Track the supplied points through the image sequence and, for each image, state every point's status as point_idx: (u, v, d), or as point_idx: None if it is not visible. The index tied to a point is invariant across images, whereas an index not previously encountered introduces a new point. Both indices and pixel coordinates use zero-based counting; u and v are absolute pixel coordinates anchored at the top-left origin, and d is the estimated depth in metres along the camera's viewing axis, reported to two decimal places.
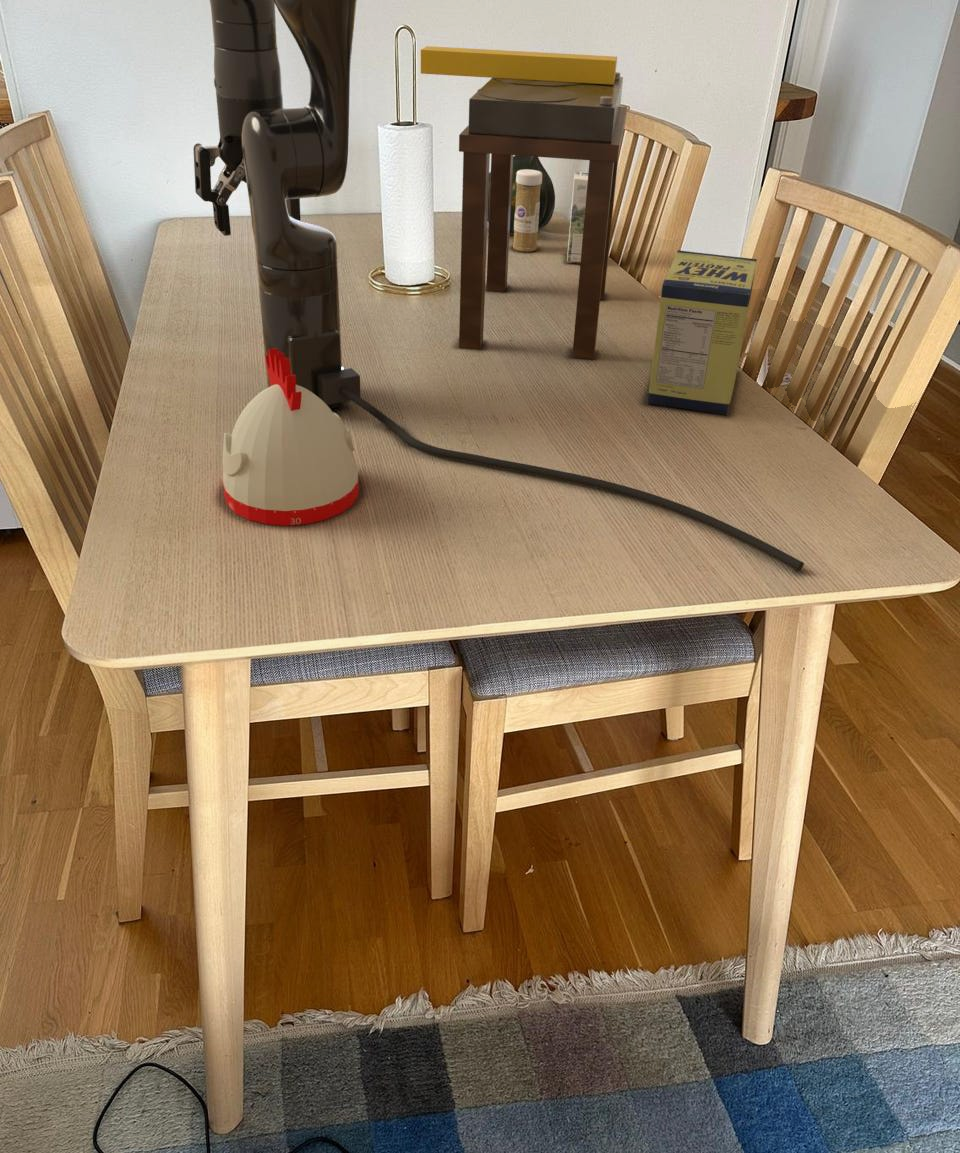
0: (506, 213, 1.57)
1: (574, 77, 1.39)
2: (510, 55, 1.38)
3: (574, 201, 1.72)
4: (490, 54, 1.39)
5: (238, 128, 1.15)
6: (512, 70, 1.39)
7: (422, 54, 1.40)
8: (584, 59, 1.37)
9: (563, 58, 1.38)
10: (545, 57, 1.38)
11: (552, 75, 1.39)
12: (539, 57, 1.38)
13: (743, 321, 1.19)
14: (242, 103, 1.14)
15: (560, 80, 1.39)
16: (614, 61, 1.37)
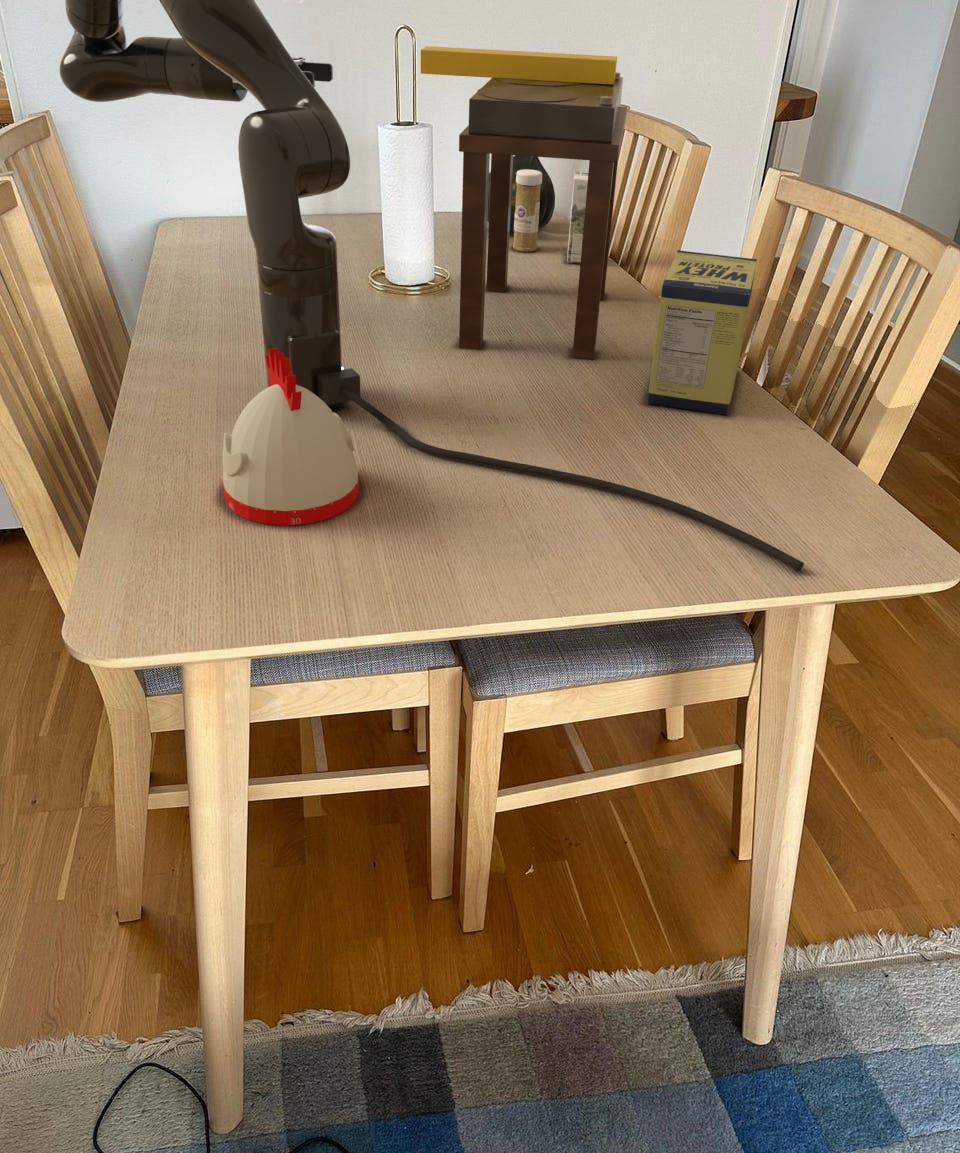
0: (506, 213, 1.57)
1: (574, 77, 1.39)
2: (510, 55, 1.38)
3: (574, 201, 1.72)
4: (490, 54, 1.39)
5: None
6: (512, 70, 1.39)
7: (422, 54, 1.40)
8: (584, 59, 1.37)
9: (563, 58, 1.38)
10: (545, 57, 1.38)
11: (552, 75, 1.39)
12: (539, 57, 1.38)
13: (743, 321, 1.19)
14: None
15: (560, 80, 1.39)
16: (614, 61, 1.37)
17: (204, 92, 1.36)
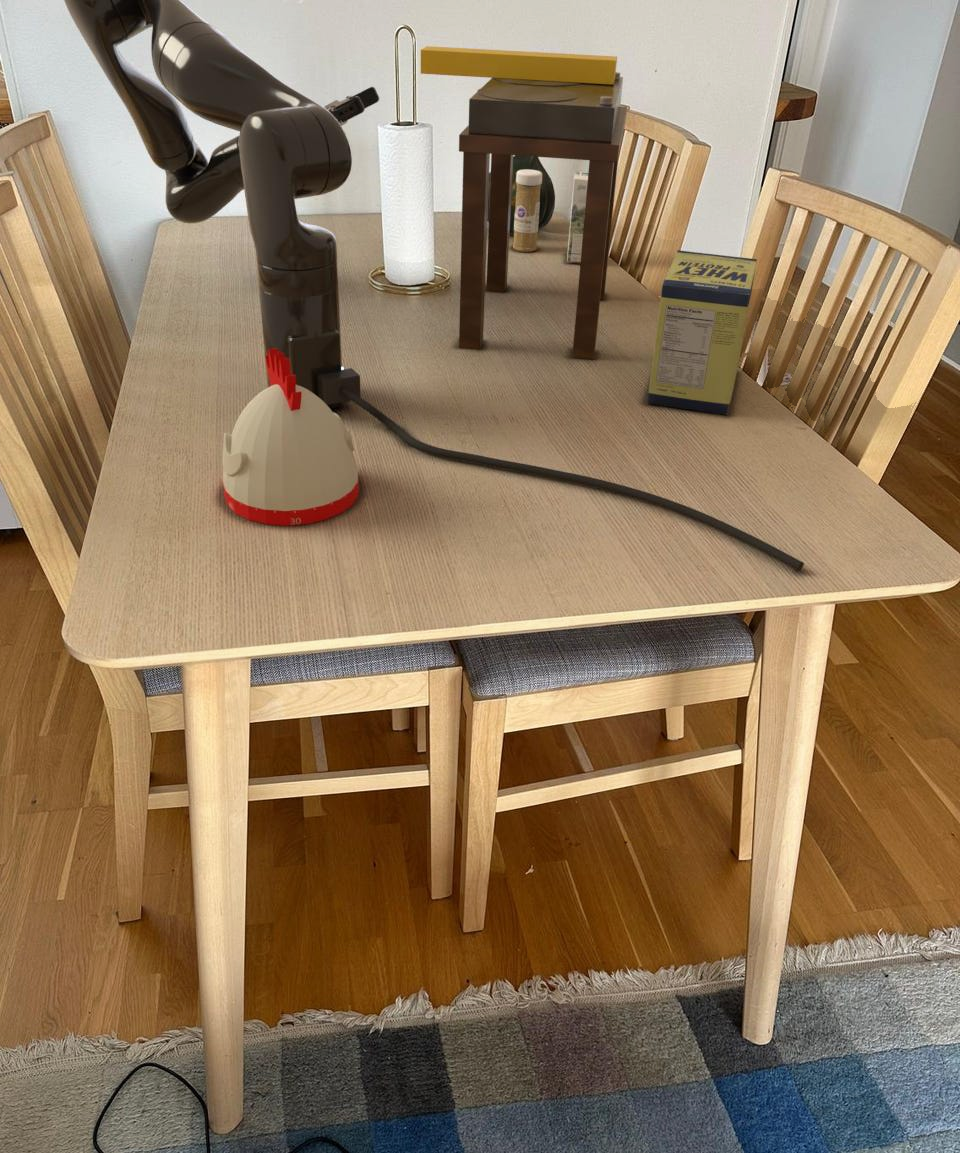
0: (506, 213, 1.57)
1: (574, 77, 1.39)
2: (510, 55, 1.38)
3: (574, 201, 1.72)
4: (490, 54, 1.39)
5: None
6: (512, 70, 1.39)
7: (422, 54, 1.40)
8: (584, 59, 1.37)
9: (563, 58, 1.38)
10: (545, 57, 1.38)
11: (552, 75, 1.39)
12: (539, 57, 1.38)
13: (743, 321, 1.19)
14: None
15: (560, 80, 1.39)
16: (614, 61, 1.37)
17: None
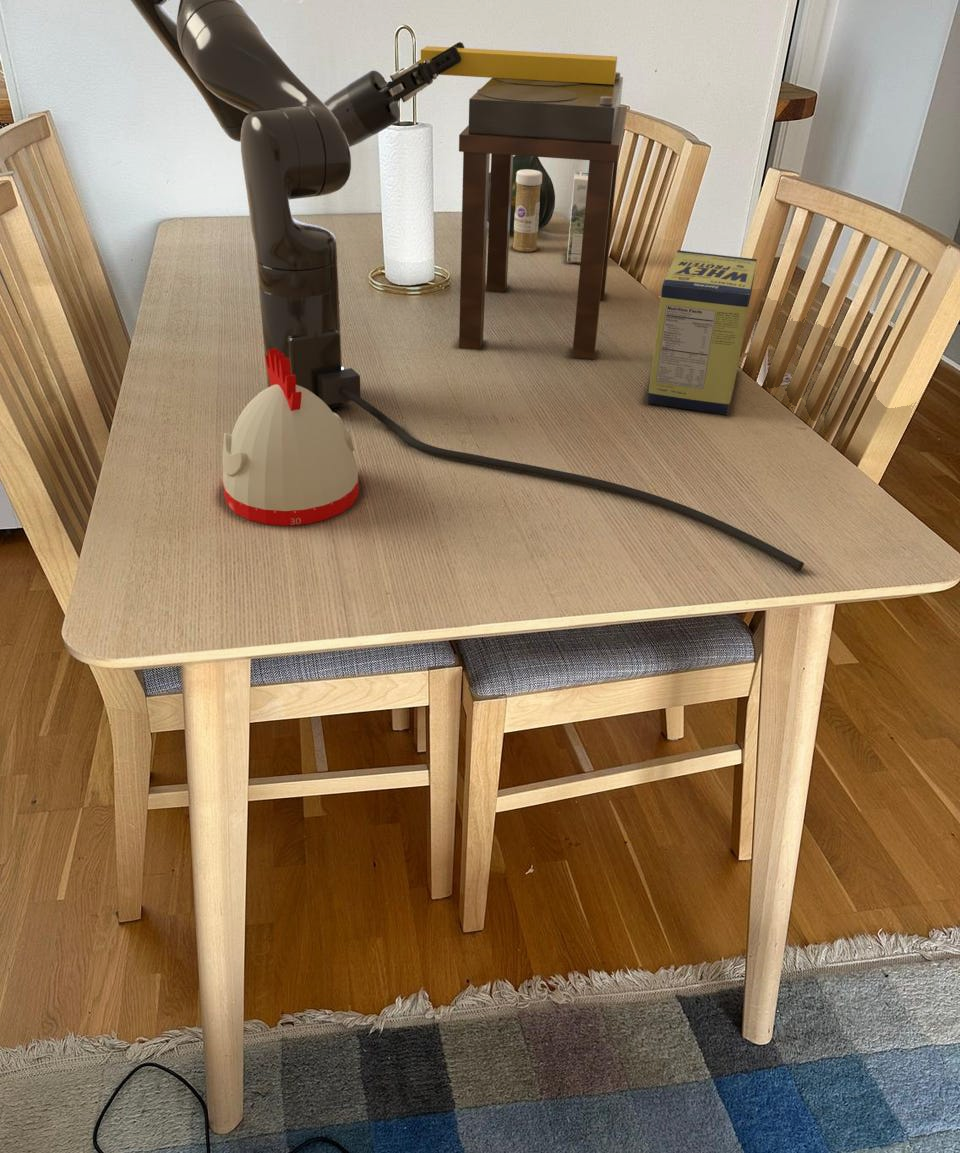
0: (506, 213, 1.57)
1: (574, 77, 1.39)
2: (510, 55, 1.38)
3: (574, 201, 1.72)
4: (490, 54, 1.39)
5: (366, 82, 1.43)
6: (512, 70, 1.39)
7: (422, 54, 1.40)
8: (584, 59, 1.37)
9: (563, 58, 1.38)
10: (545, 57, 1.38)
11: (552, 75, 1.39)
12: (539, 57, 1.38)
13: (743, 321, 1.19)
14: (349, 88, 1.44)
15: (560, 80, 1.39)
16: (614, 61, 1.37)
17: (366, 129, 1.46)
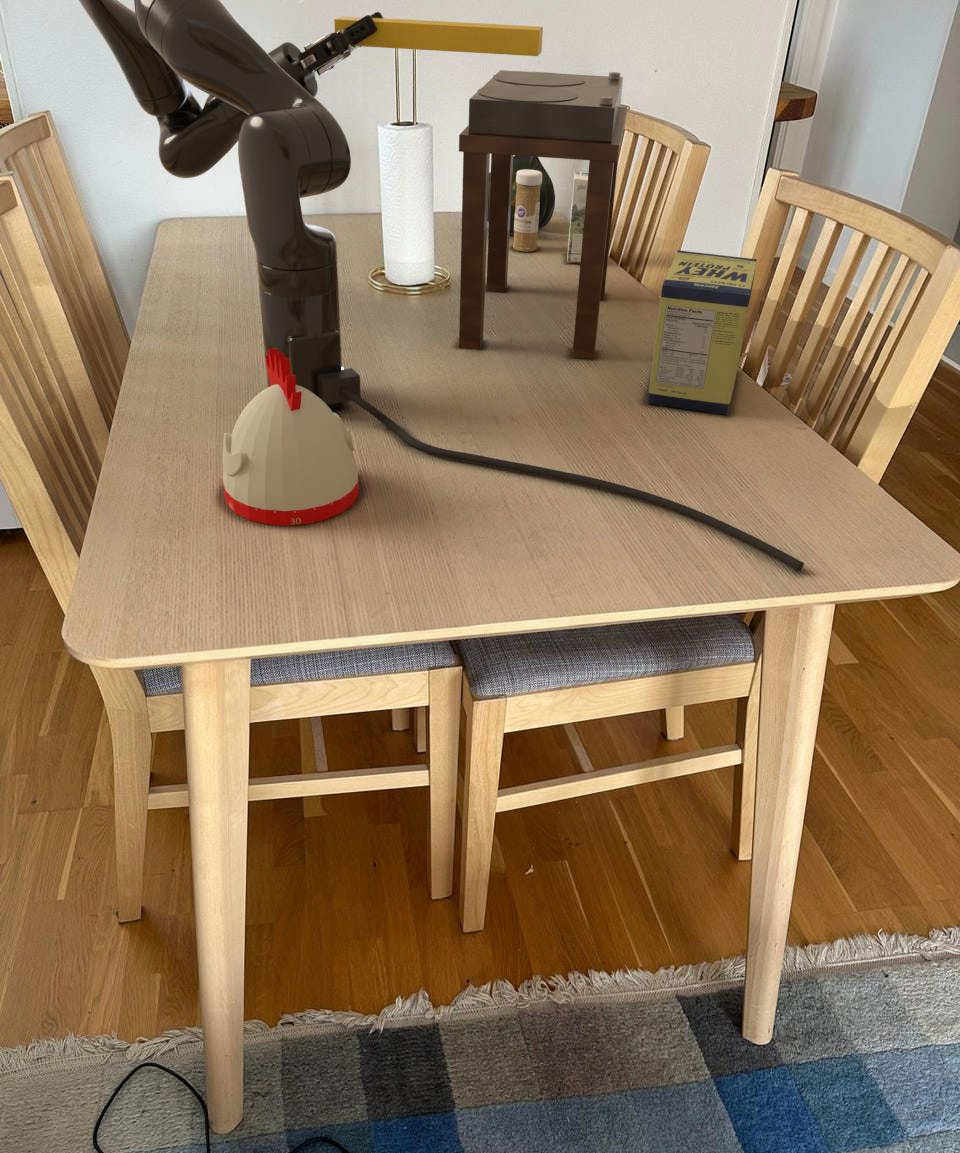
0: (506, 213, 1.57)
1: (496, 48, 1.31)
2: (428, 25, 1.31)
3: (574, 201, 1.72)
4: (407, 24, 1.31)
5: (278, 54, 1.35)
6: (430, 41, 1.32)
7: (336, 24, 1.32)
8: (506, 29, 1.30)
9: (484, 28, 1.30)
10: (465, 27, 1.30)
11: (473, 46, 1.31)
12: (459, 27, 1.30)
13: (743, 321, 1.19)
14: None
15: (482, 51, 1.31)
16: (537, 31, 1.29)
17: None
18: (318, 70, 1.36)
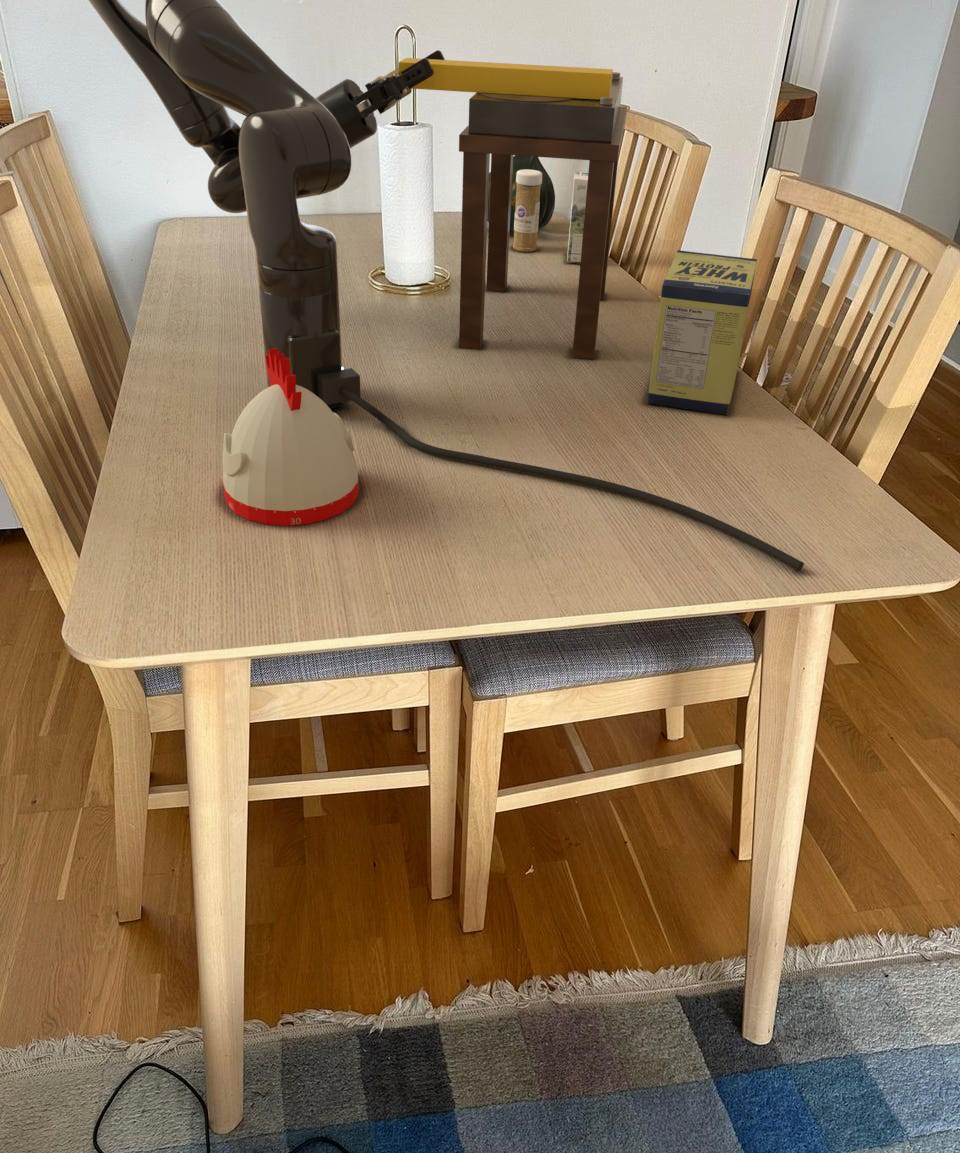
0: (506, 213, 1.57)
1: (566, 92, 1.27)
2: (496, 68, 1.27)
3: (574, 201, 1.72)
4: (474, 67, 1.27)
5: (339, 92, 1.31)
6: (498, 84, 1.28)
7: (400, 67, 1.28)
8: (577, 72, 1.26)
9: (554, 71, 1.26)
10: (534, 70, 1.26)
11: (542, 90, 1.27)
12: (528, 70, 1.26)
13: (743, 321, 1.19)
14: (321, 98, 1.32)
15: (551, 95, 1.28)
16: (609, 75, 1.25)
17: None
18: (379, 108, 1.32)
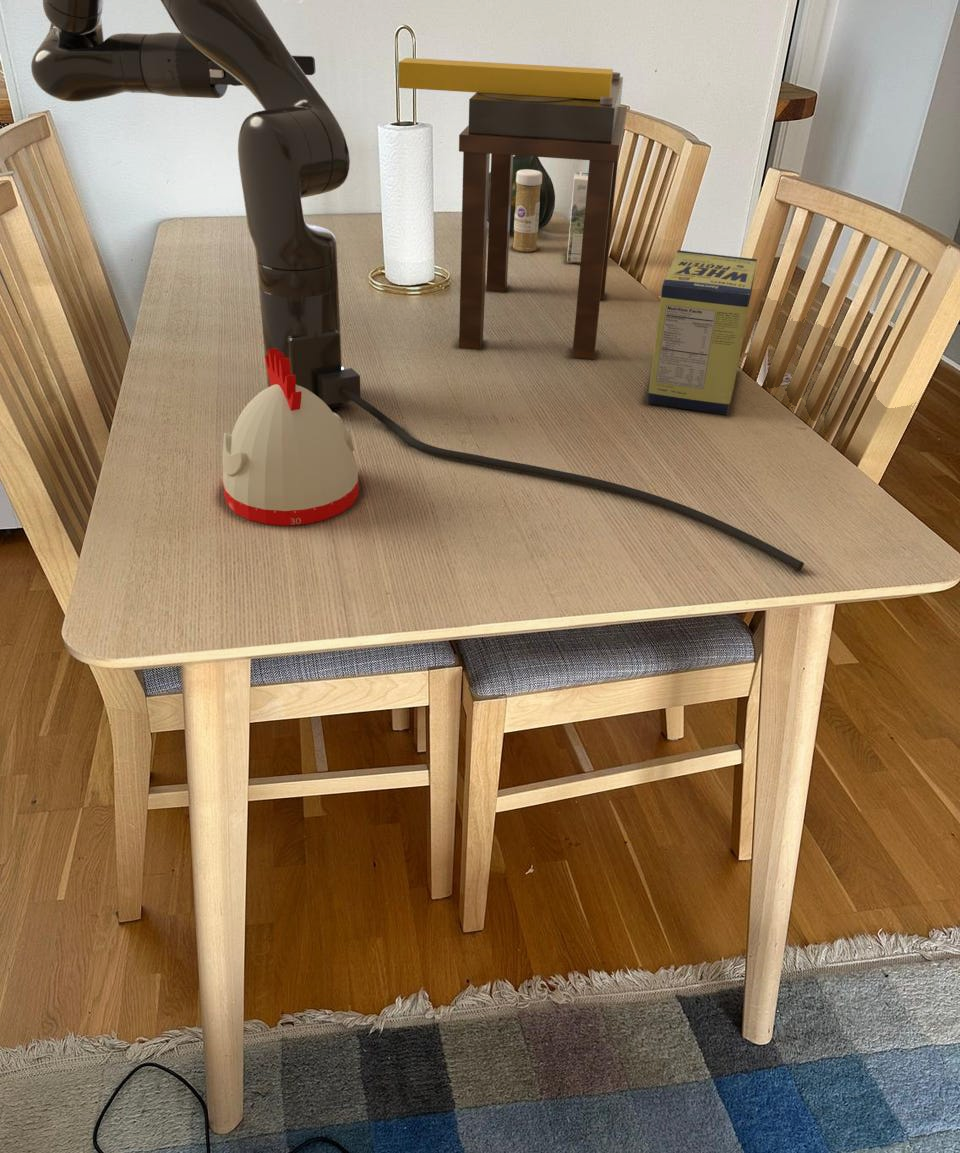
0: (506, 213, 1.57)
1: (566, 92, 1.27)
2: (496, 68, 1.27)
3: (574, 201, 1.72)
4: (474, 67, 1.27)
5: None
6: (498, 84, 1.28)
7: (400, 67, 1.28)
8: (577, 72, 1.26)
9: (554, 71, 1.26)
10: (534, 70, 1.26)
11: (542, 90, 1.27)
12: (528, 70, 1.26)
13: (743, 321, 1.19)
14: (181, 39, 1.29)
15: (551, 95, 1.28)
16: (609, 74, 1.25)
17: (182, 89, 1.31)
18: None
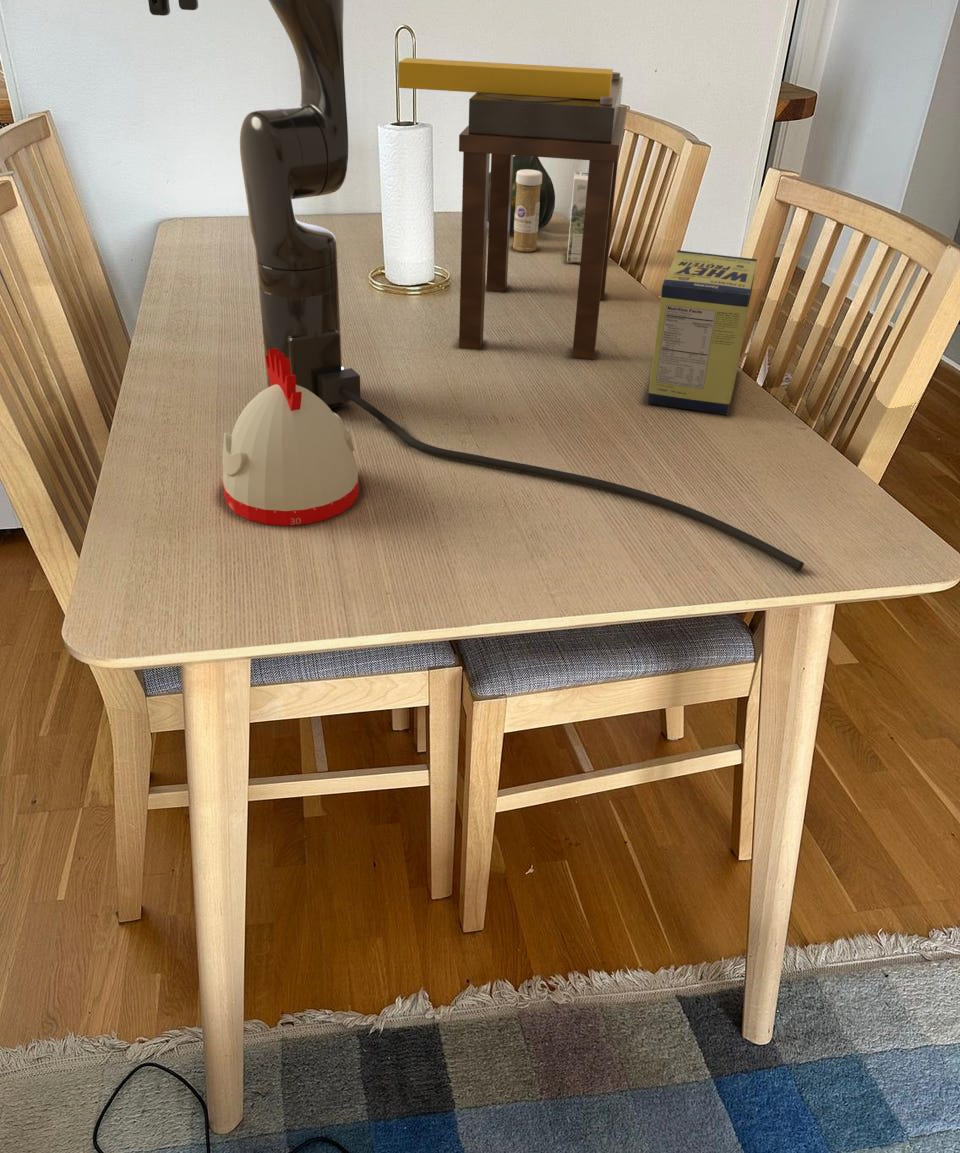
0: (506, 213, 1.57)
1: (566, 92, 1.27)
2: (496, 68, 1.27)
3: (574, 201, 1.72)
4: (474, 67, 1.27)
5: None
6: (498, 84, 1.28)
7: (400, 67, 1.28)
8: (577, 72, 1.26)
9: (554, 71, 1.26)
10: (534, 70, 1.26)
11: (542, 90, 1.27)
12: (528, 70, 1.26)
13: (743, 321, 1.19)
14: None
15: (551, 95, 1.28)
16: (609, 74, 1.25)
17: None
18: None
